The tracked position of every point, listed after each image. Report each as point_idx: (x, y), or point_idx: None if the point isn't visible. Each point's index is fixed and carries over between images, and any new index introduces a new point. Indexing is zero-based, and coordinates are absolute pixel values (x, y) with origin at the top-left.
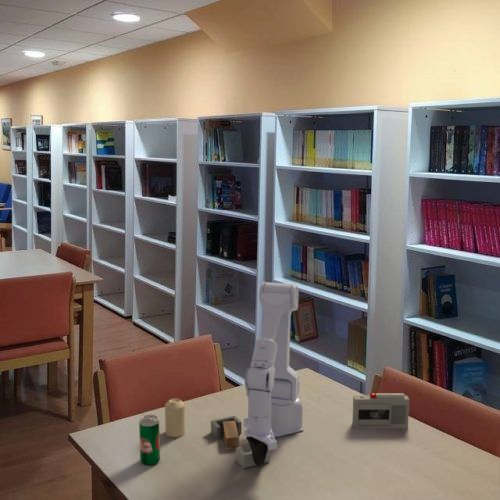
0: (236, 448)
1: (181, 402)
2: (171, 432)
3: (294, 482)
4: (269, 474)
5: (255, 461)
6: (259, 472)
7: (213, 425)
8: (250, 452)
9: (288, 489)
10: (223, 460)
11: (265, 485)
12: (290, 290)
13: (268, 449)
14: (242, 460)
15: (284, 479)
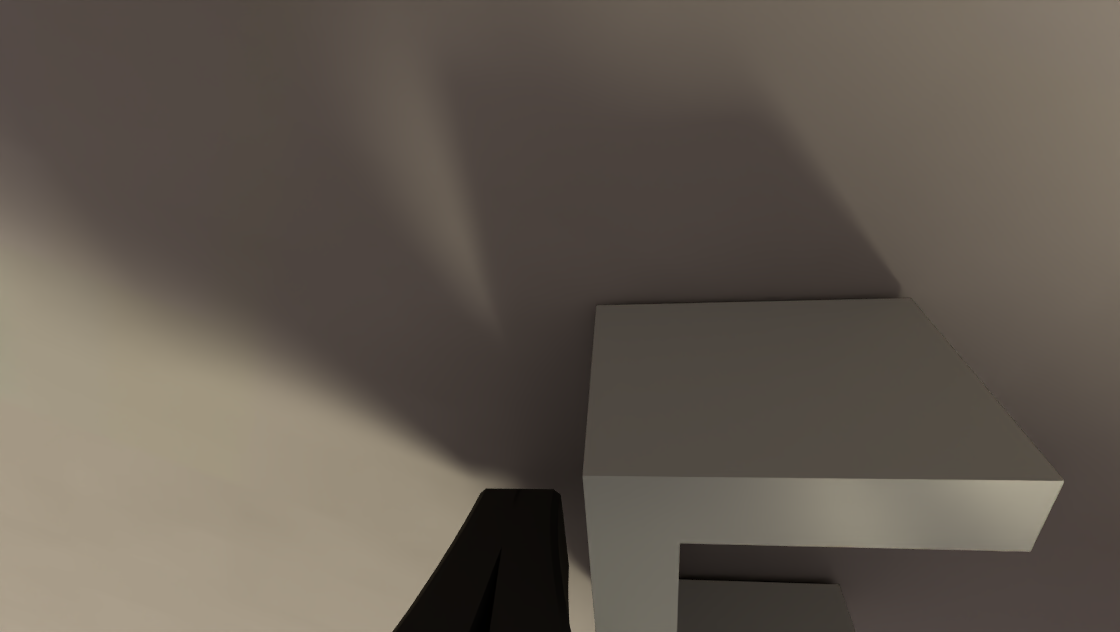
0: (1029, 467)
1: None
2: None
3: (167, 607)
4: (352, 504)
5: (488, 526)
6: (426, 437)
7: None
8: (645, 609)
9: (37, 529)
10: (1094, 67)
11: (108, 382)
12: None
13: None
14: (645, 375)
15: (228, 570)
